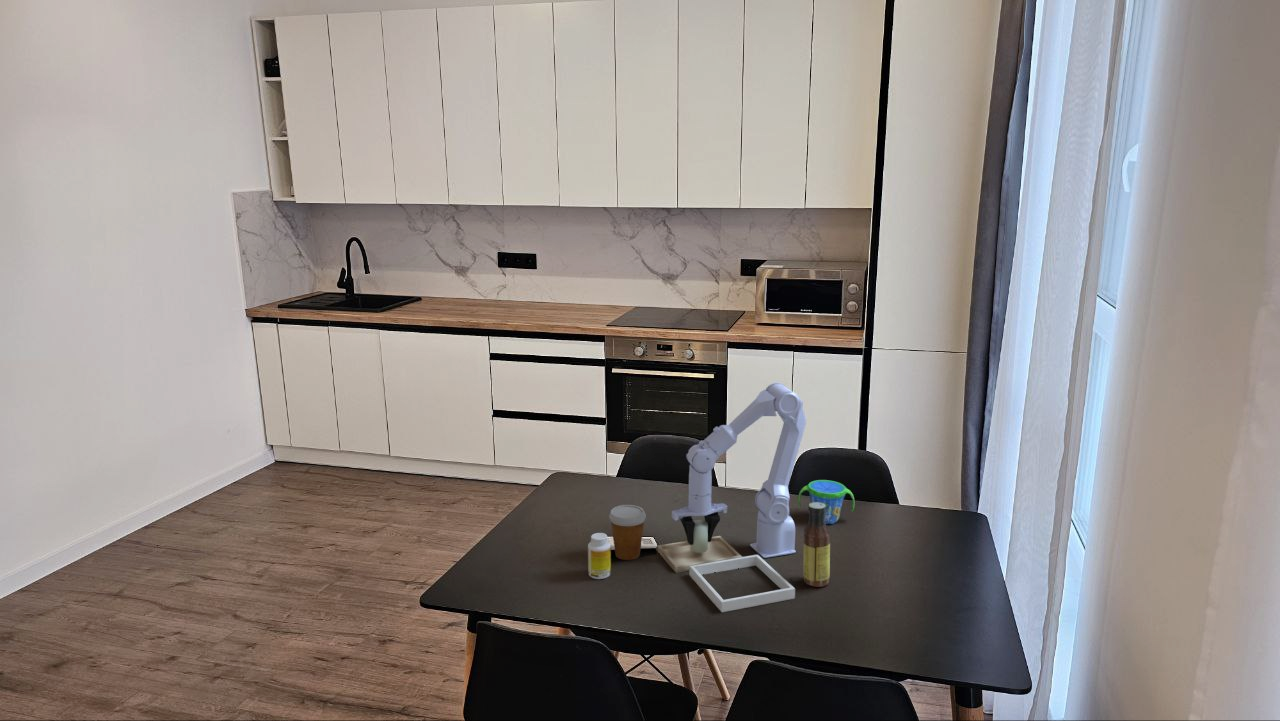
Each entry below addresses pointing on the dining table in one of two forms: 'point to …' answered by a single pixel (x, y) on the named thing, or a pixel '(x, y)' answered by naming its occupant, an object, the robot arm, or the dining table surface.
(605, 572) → the supplement bottle
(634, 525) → the disposable coffee cup
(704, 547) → the sage cylinder
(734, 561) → the white hollow square frame
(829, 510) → the snack cup
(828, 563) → the sauce bottle
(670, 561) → the birch tray
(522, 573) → the dining table surface
